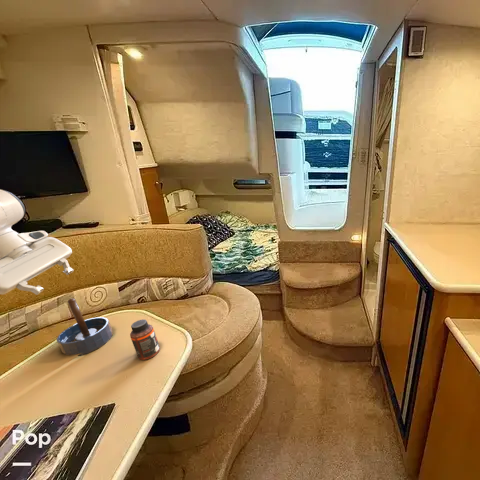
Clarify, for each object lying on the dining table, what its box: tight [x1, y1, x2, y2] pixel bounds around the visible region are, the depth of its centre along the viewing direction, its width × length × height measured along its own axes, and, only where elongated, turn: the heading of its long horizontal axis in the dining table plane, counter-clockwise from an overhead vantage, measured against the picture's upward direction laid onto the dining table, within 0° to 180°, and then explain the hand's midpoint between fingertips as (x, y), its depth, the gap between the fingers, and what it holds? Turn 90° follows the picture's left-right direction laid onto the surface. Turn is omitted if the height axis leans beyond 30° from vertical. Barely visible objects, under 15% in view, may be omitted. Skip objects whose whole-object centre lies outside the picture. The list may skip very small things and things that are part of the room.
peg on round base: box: [67, 297, 98, 341], centre depth 87 cm, size 6×6×16 cm
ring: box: [56, 316, 114, 357], centre depth 89 cm, size 13×13×6 cm
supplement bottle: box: [129, 318, 161, 361], centre depth 81 cm, size 6×6×11 cm
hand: (56, 281), depth 79 cm, fingers open, 8 cm apart
